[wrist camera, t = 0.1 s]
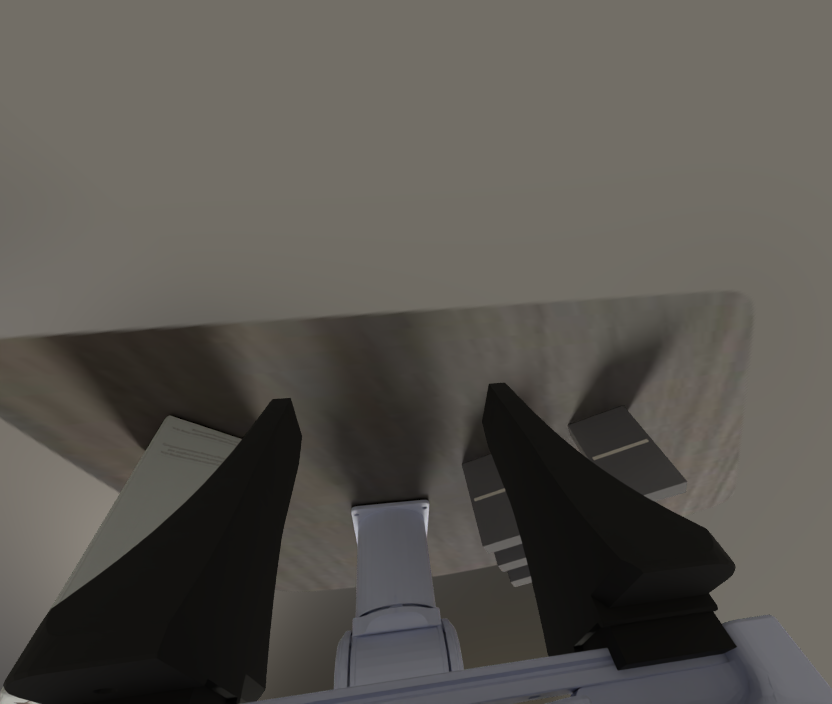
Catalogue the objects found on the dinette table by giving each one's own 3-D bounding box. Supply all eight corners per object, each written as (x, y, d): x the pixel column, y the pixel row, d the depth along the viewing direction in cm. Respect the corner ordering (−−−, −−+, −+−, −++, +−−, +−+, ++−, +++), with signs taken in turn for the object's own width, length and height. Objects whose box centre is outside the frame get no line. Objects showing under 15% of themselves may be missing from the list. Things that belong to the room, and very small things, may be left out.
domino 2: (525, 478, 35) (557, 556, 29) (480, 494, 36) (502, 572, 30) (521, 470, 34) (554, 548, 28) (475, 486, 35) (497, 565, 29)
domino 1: (515, 455, 32) (548, 535, 26) (467, 473, 33) (488, 554, 27) (511, 446, 31) (544, 526, 25) (461, 463, 32) (482, 546, 26)
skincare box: (144, 453, 27) (-37, 735, 15) (171, 408, 24) (-20, 701, 12) (249, 483, 30) (171, 728, 18) (281, 447, 28) (216, 701, 16)
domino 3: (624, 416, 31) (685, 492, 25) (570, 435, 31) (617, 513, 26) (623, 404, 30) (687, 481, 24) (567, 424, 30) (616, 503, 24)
